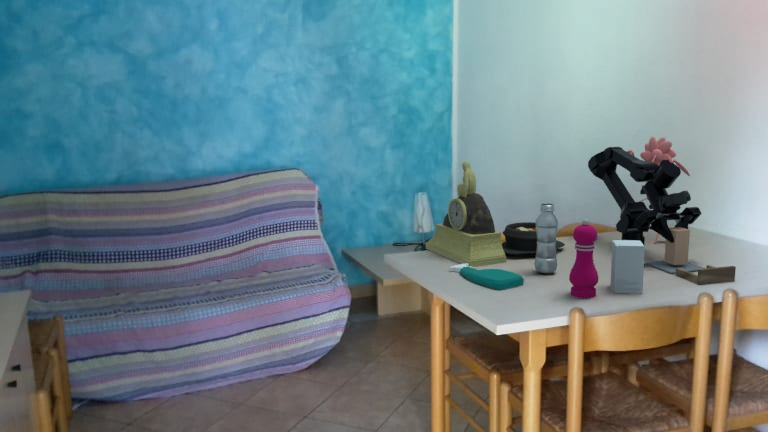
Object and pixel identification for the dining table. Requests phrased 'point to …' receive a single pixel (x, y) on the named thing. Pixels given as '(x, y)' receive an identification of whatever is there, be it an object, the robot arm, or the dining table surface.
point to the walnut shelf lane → (709, 275)
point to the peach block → (677, 246)
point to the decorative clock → (468, 228)
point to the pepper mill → (584, 262)
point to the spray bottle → (490, 277)
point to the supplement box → (627, 266)
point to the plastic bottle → (546, 239)
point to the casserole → (522, 239)
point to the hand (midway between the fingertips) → (680, 241)
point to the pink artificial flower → (659, 156)
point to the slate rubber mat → (674, 266)
